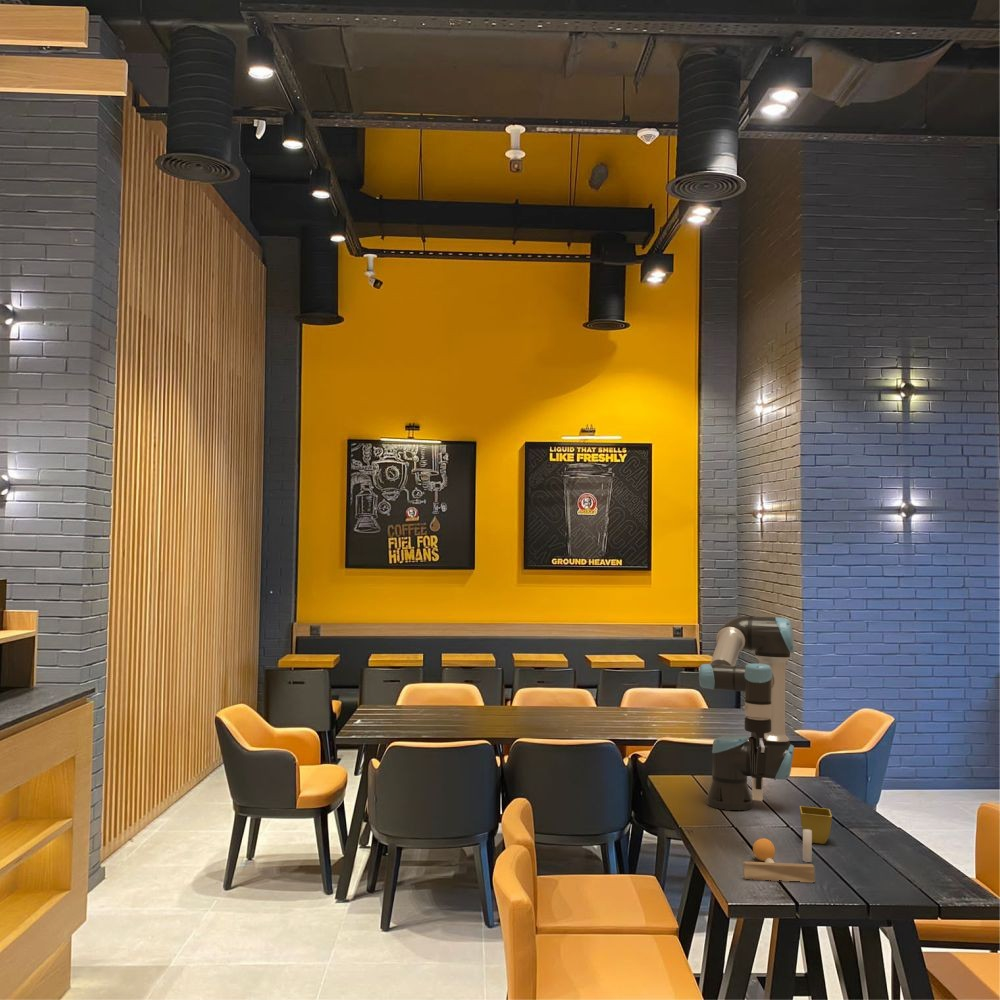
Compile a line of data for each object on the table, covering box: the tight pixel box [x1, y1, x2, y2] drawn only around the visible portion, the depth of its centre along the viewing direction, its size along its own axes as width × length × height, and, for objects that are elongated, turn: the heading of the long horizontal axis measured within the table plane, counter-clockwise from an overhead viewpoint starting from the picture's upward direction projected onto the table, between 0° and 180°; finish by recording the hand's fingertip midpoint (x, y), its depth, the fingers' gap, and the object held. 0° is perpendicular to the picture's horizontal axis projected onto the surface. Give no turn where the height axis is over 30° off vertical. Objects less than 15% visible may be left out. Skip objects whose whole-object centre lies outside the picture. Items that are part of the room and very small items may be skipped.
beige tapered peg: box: [802, 829, 813, 863], centre depth 252 cm, size 2×2×8 cm
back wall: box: [742, 861, 816, 883], centre depth 237 cm, size 2×18×4 cm, turn 87°
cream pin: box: [764, 858, 776, 863], centre depth 243 cm, size 2×2×8 cm
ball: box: [752, 837, 776, 862], centre depth 252 cm, size 6×6×6 cm
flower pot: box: [799, 805, 833, 845], centre depth 271 cm, size 9×9×9 cm
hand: (757, 799), depth 262 cm, fingers closed
